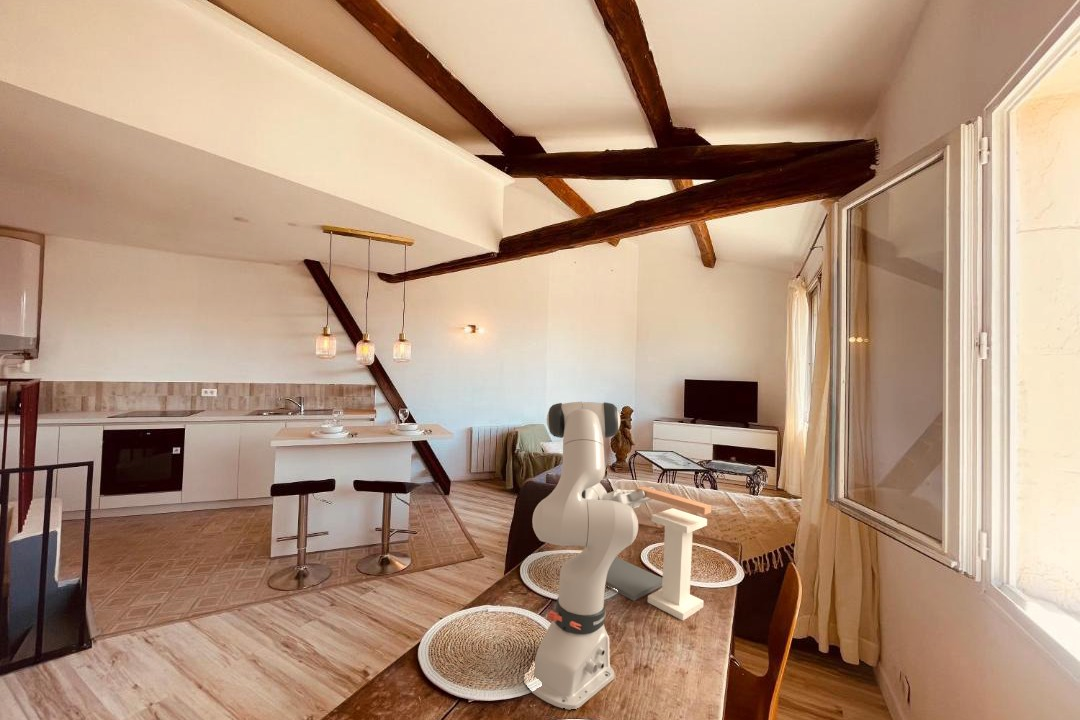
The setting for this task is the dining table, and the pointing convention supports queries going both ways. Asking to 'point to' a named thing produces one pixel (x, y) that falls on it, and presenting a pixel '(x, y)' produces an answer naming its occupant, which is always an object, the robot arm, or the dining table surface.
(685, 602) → the stand
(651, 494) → the slat
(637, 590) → the mat
